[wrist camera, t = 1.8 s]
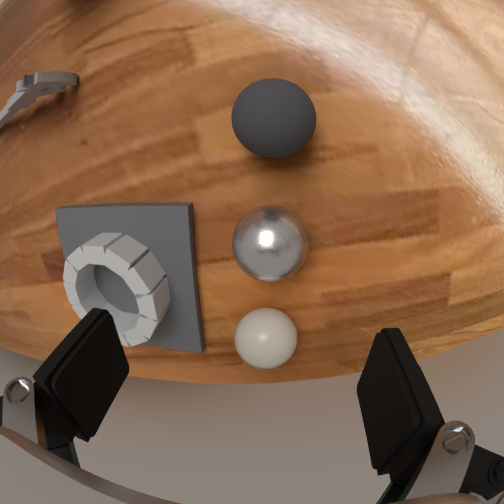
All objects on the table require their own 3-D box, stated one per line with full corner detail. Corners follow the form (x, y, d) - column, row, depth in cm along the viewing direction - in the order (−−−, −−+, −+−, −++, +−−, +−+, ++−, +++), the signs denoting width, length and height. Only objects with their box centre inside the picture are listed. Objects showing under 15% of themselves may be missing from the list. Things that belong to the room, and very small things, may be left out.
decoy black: (312, 89, 16) (321, 71, 11) (310, 158, 18) (320, 163, 13) (239, 87, 16) (224, 70, 12) (238, 155, 18) (223, 160, 14)
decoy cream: (299, 297, 22) (302, 336, 18) (293, 342, 24) (294, 383, 19) (239, 293, 23) (227, 331, 18) (239, 338, 25) (230, 378, 20)
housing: (192, 202, 20) (172, 217, 16) (204, 346, 25) (193, 375, 22) (61, 206, 21) (33, 218, 18) (91, 325, 27) (73, 346, 23)
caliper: (81, 73, 16) (32, 66, 11) (81, 84, 17) (32, 79, 11) (-16, 136, 19) (-49, 144, 13) (-15, 144, 20) (-49, 153, 14)
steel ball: (308, 199, 19) (316, 219, 14) (303, 263, 21) (307, 298, 16) (238, 196, 19) (223, 214, 15) (238, 260, 21) (226, 293, 17)
